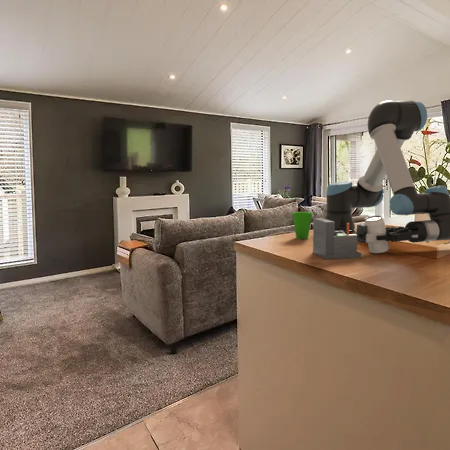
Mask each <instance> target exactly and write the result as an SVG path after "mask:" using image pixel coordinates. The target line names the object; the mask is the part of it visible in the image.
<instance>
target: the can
mask: <svg viewBox="0 0 450 450" xmlns="http://www.w3.org/2000/svg"><path fill="white" fill-rule="evenodd" d="M363 225H365V226H367V234H374V233H385V235H386V228H385V227H386V224H385V220H384V219H383V217H382V215H372V216H368V217H366V218H364V223H363ZM367 245H368V249H369V252H370V253H372V254H374V255H375V254H383V253H386V252H387V251H389V249H390V246H389V241H386V240H385V241H378V242H367Z"/></svg>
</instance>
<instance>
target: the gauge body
mask: <svg viewBox="0 0 450 450" xmlns="http://www.w3.org/2000/svg"><path fill="white" fill-rule="evenodd" d="M312 222H313V223H312V224H313V225H312V226H313V229H312V231H313V232H312V235H313V236H312V239H313V241H312V243H313V244H312V245H313V246H312V253H313V254H314V255H317V256H318V257H320V258H322V259H324V260H328V261H329V260H345V259H359V258H360V259H361V258H362V252H359V251H358V242H357V234H355V233H351V234H350V233H349V234H347V233H345V232H344V231H335V222H334V221H330V220H327V219H325V218H324V217H316V218H314V217H313V221H312ZM341 233H345V234H346V235H336V234H341Z"/></svg>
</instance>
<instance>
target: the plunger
mask: <svg viewBox="0 0 450 450" xmlns="http://www.w3.org/2000/svg"><path fill="white" fill-rule="evenodd" d="M356 231H357V243H360V244H368V242H366V234H367V226H365V225H364V224H362V223H360V224H359V223H358V224H356ZM346 234H350V232H349V223H347V232H344V233H341V234H336V235H346Z"/></svg>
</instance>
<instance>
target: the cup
mask: <svg viewBox="0 0 450 450" xmlns="http://www.w3.org/2000/svg"><path fill="white" fill-rule="evenodd" d="M291 215H292V221H293V225H294V233H295V237H296V239H298V240H307V239H309V236H310V231H311V230H310V229H311V222H312V217H313V212H309V211H297V212H292V213H291Z"/></svg>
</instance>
